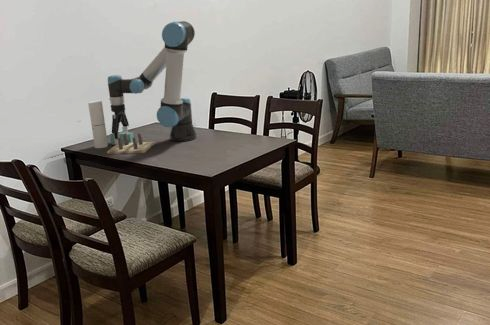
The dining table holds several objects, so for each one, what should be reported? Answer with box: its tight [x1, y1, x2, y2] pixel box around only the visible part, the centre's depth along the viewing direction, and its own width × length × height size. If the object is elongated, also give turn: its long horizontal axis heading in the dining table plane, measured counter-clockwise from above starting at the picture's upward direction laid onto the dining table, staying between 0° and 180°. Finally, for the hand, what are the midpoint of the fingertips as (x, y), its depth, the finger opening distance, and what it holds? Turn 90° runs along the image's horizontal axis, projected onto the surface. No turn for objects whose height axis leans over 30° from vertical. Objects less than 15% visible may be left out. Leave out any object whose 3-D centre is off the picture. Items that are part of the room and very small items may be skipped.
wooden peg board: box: [106, 132, 155, 155], centre depth 262 cm, size 20×18×7 cm
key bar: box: [109, 131, 135, 146], centre depth 275 cm, size 12×4×6 cm, turn 79°
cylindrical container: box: [87, 100, 109, 149], centre depth 268 cm, size 7×7×25 cm
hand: (122, 141), depth 275 cm, fingers open, 13 cm apart
